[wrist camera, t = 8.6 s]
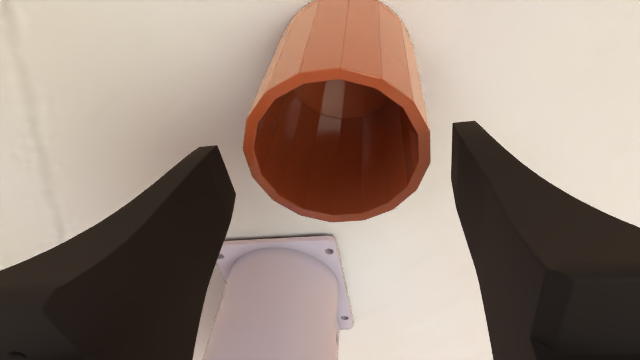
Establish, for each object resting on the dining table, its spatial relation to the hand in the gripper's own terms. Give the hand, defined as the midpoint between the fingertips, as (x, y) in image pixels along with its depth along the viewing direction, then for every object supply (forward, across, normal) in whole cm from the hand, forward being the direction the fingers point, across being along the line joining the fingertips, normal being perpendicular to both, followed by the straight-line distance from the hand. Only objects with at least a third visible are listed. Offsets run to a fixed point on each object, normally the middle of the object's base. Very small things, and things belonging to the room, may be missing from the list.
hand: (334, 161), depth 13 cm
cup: (+7, 0, 0) cm, 7 cm away
